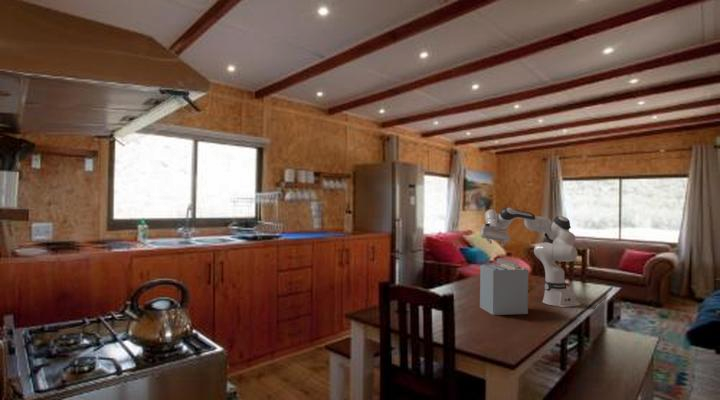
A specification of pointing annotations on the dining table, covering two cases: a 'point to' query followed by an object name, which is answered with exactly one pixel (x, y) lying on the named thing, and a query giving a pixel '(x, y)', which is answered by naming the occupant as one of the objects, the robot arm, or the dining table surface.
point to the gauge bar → (507, 262)
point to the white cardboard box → (503, 289)
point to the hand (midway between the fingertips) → (496, 244)
